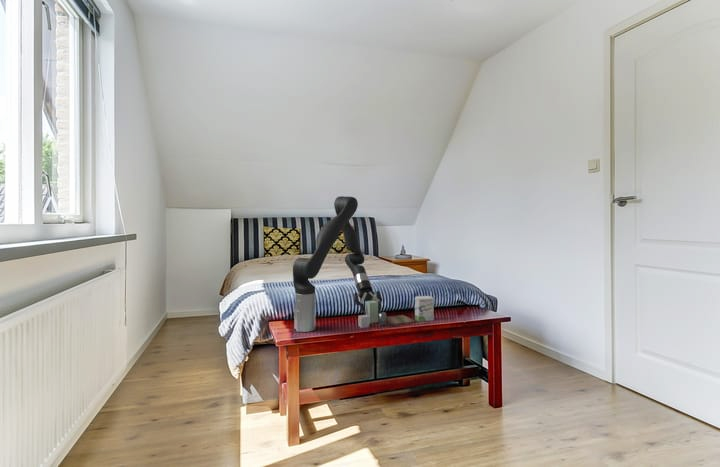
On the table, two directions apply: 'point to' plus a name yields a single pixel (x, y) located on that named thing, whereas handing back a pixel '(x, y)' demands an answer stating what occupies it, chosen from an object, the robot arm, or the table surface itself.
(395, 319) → the walnut board
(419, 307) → the ink box
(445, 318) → the table surface
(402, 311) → the table surface
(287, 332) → the table surface
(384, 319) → the metal cylinder
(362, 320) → the grey block
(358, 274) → the robot arm
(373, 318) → the sage block
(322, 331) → the table surface
